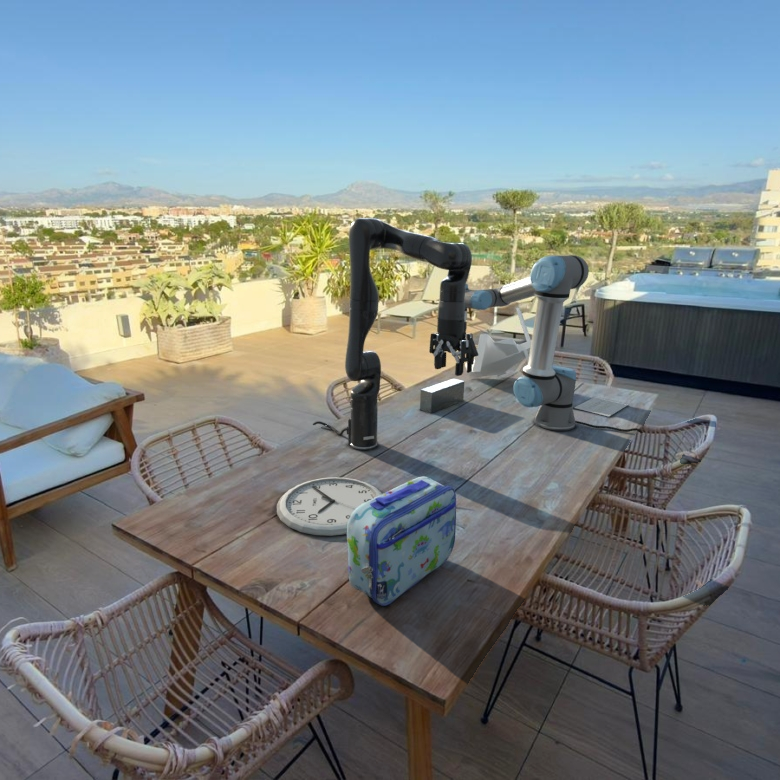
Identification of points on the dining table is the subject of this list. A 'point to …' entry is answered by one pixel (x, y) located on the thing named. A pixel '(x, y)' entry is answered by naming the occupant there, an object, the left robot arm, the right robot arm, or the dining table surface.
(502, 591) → the dining table surface
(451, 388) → the box
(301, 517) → the wall clock
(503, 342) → the white plastic object
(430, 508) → the lunch box
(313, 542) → the dining table surface
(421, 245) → the left robot arm
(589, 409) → the invitation card
